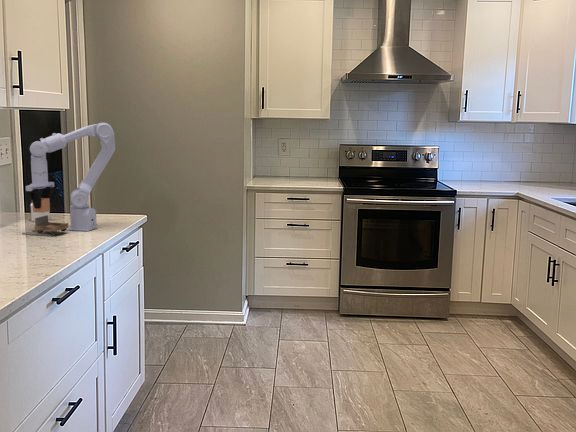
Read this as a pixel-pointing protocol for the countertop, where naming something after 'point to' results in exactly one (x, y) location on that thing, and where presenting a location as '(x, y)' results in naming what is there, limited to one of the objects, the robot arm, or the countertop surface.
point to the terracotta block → (43, 206)
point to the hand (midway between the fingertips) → (41, 207)
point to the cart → (49, 225)
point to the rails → (40, 234)
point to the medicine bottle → (38, 214)
